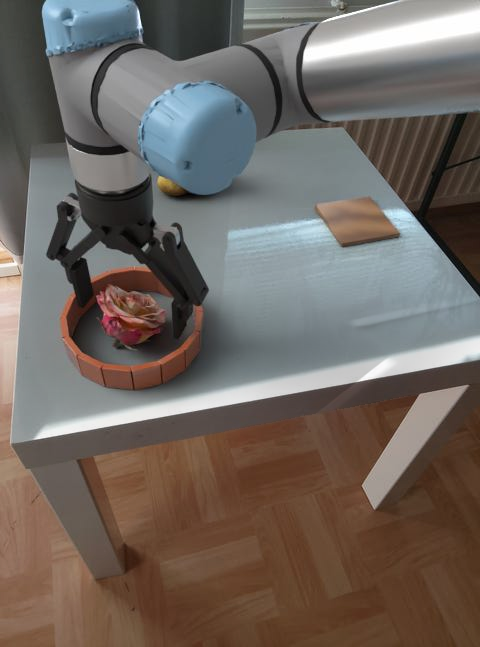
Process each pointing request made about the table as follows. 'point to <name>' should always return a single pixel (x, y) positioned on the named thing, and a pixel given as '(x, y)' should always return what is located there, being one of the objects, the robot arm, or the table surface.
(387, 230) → the brown wooden square board
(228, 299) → the table surface
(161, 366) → the terracotta brick ring
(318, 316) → the table surface
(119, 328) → the flower
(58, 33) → the robot arm
